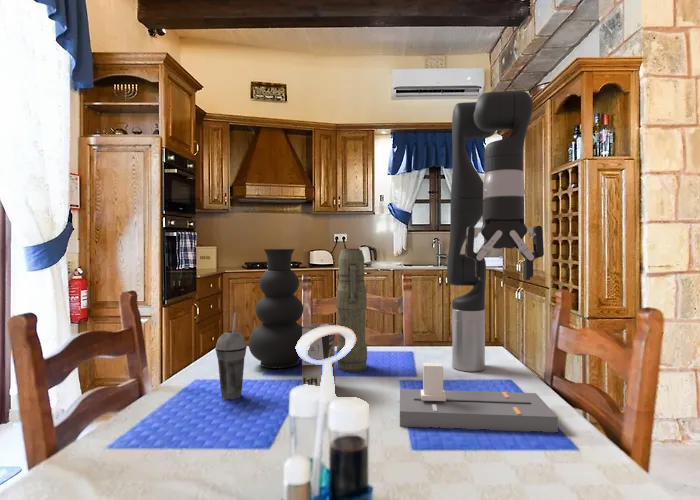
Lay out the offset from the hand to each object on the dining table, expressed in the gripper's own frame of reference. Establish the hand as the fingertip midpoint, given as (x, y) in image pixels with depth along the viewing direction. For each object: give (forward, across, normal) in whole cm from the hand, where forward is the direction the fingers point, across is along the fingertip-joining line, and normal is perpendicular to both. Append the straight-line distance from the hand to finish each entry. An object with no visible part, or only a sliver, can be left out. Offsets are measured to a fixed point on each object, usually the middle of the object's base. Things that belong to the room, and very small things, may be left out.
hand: (503, 280), depth 87 cm
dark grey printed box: (+29, +40, -21) cm, 54 cm away
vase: (+29, +56, -43) cm, 76 cm away
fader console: (+29, +5, -7) cm, 30 cm away
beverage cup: (+29, +60, -14) cm, 68 cm away
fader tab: (+26, +13, -7) cm, 29 cm away
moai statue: (+29, +34, -42) cm, 61 cm away
